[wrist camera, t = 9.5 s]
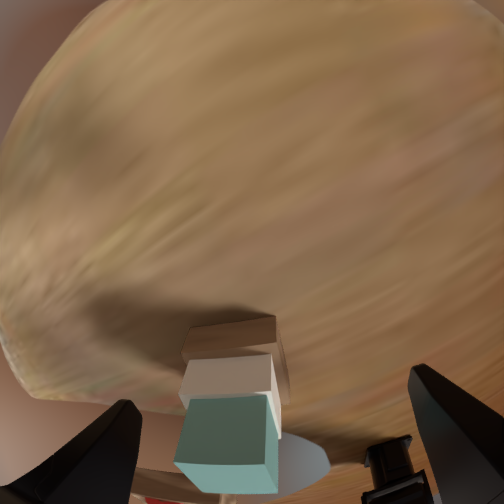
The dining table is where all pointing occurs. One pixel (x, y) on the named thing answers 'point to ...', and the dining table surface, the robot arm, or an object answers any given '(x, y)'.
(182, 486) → the bracket cradle
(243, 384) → the cream block
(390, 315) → the dining table surface
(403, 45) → the dining table surface
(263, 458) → the teal cube
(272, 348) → the walnut block
